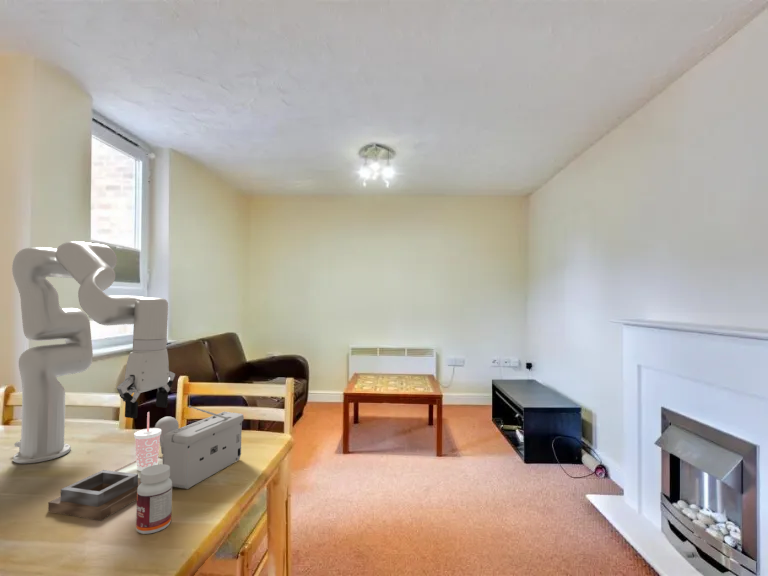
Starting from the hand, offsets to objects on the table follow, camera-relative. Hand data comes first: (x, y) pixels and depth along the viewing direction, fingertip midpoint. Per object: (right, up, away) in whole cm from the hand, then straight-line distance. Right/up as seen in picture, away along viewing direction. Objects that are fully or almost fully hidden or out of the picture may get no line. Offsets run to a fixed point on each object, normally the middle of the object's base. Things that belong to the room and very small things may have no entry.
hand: (147, 411), depth 102 cm
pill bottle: (+15, -16, -22) cm, 31 cm away
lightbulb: (-2, -17, +13) cm, 22 cm away
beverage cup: (0, -14, 0) cm, 14 cm away
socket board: (-1, -16, -6) cm, 17 cm away
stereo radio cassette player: (+14, -17, +2) cm, 22 cm away
